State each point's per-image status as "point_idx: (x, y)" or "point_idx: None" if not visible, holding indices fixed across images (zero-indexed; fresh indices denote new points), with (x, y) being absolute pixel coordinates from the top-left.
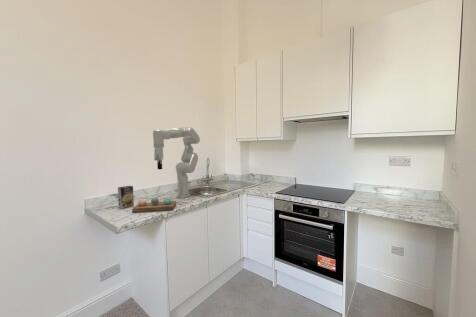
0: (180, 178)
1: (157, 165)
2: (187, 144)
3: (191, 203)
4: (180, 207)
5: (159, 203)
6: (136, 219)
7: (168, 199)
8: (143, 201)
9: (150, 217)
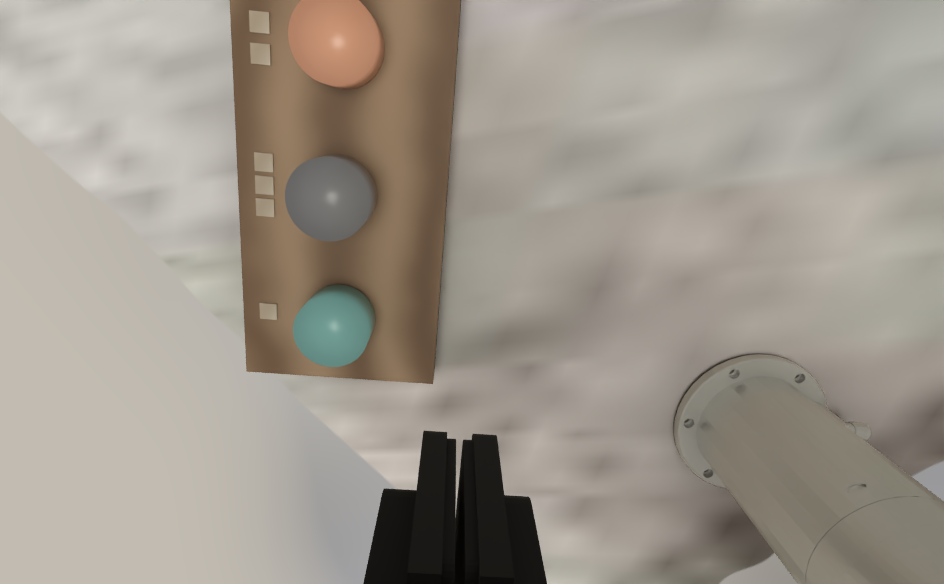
0: (843, 567)
1: (412, 529)
2: None
3: None
4: (342, 409)
5: (391, 230)
6: (43, 58)
7: (344, 343)
8: (320, 57)
9: (90, 183)
